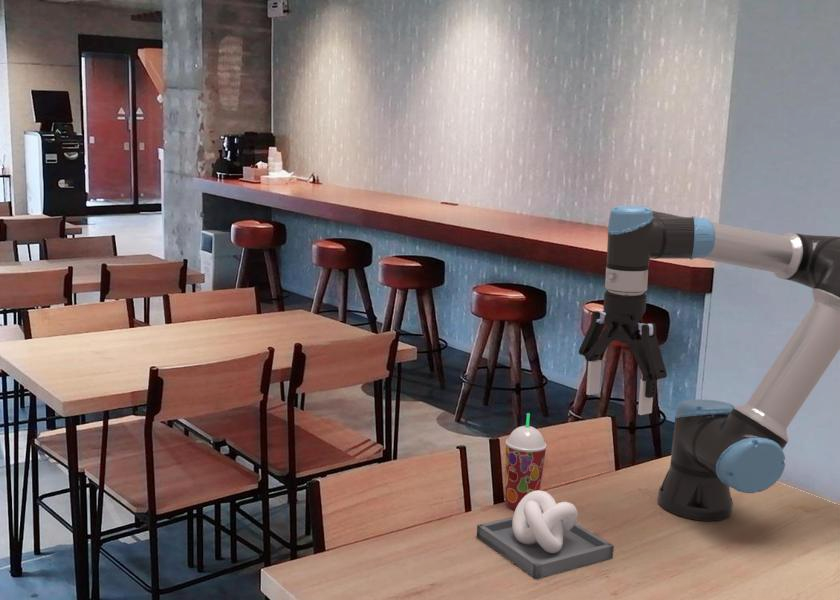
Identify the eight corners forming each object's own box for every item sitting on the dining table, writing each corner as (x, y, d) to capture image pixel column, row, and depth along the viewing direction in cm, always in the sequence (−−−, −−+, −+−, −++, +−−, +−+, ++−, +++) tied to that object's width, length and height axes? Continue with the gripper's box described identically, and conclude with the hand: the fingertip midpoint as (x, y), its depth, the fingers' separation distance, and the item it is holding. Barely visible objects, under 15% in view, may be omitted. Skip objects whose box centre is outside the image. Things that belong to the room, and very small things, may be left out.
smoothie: (538, 498, 192) (545, 408, 188) (544, 515, 184) (552, 421, 180) (498, 497, 192) (505, 406, 188) (503, 513, 183) (510, 419, 180)
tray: (549, 520, 181) (550, 508, 181) (612, 558, 166) (613, 545, 166) (476, 537, 172) (477, 525, 172) (536, 579, 157) (537, 566, 157)
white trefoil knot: (559, 527, 176) (563, 483, 174) (588, 555, 165) (592, 509, 163) (505, 532, 173) (509, 487, 171) (531, 561, 161) (534, 514, 160)
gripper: (564, 281, 173) (558, 388, 177) (662, 305, 152) (653, 426, 156) (593, 279, 177) (587, 383, 181) (693, 301, 156) (683, 419, 160)
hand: (618, 403), depth 168 cm, fingers open, 13 cm apart
